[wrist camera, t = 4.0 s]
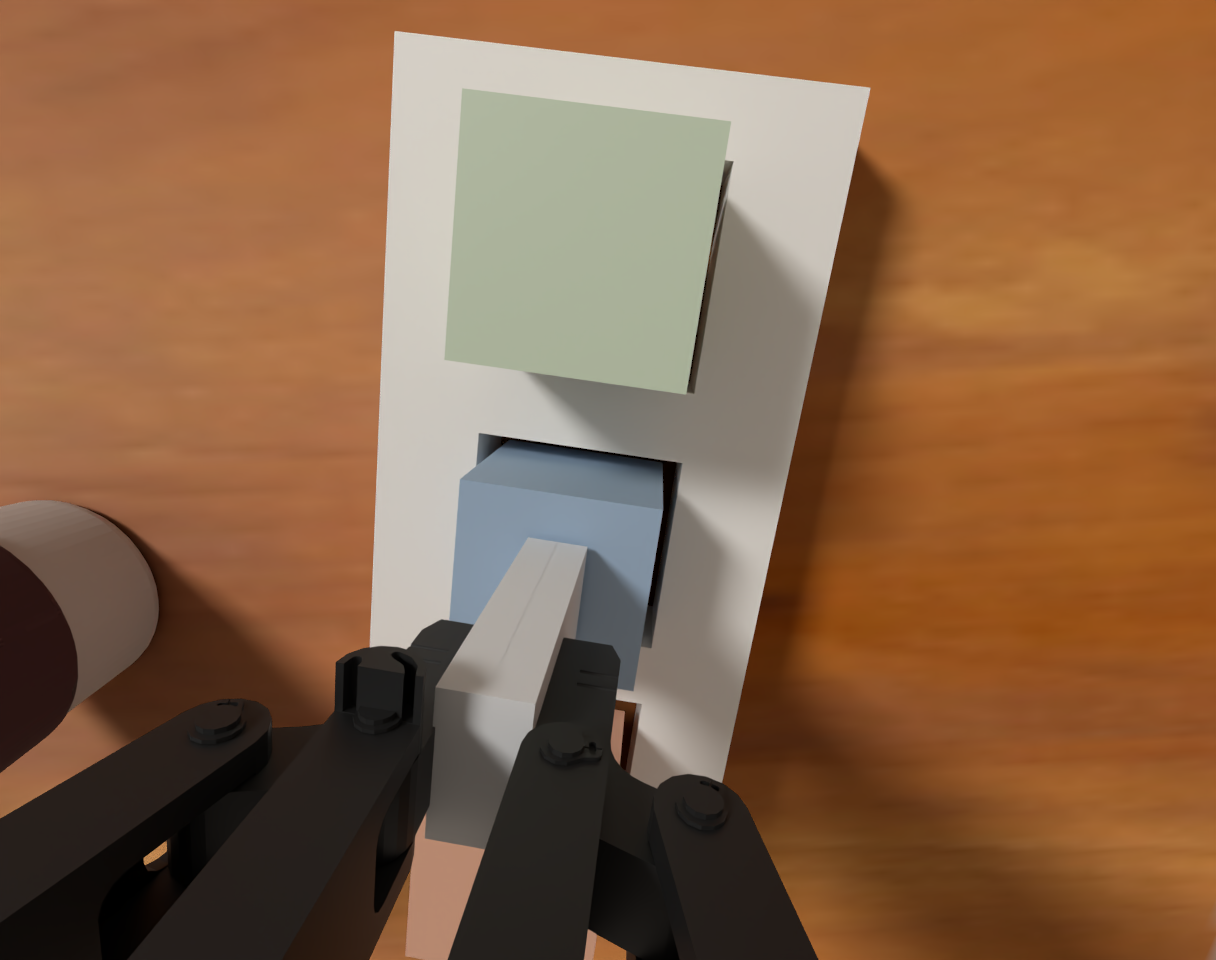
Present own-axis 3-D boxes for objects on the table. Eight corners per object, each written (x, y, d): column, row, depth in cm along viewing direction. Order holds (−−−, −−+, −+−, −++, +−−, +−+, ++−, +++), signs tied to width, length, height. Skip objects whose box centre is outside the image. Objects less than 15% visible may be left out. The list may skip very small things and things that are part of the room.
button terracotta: (463, 811, 22) (405, 956, 17) (474, 686, 21) (415, 802, 16) (604, 835, 22) (587, 990, 17) (625, 711, 21) (612, 838, 16)
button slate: (496, 581, 22) (446, 660, 17) (509, 439, 20) (460, 479, 15) (640, 604, 22) (633, 691, 16) (662, 462, 20) (662, 509, 15)
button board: (395, 795, 26) (361, 856, 23) (435, 74, 19) (394, 31, 16) (689, 846, 25) (693, 916, 22) (837, 124, 18) (870, 87, 16)
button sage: (505, 348, 18) (443, 359, 13) (522, 157, 17) (462, 88, 12) (679, 372, 18) (686, 394, 13) (710, 181, 16) (730, 121, 11)
